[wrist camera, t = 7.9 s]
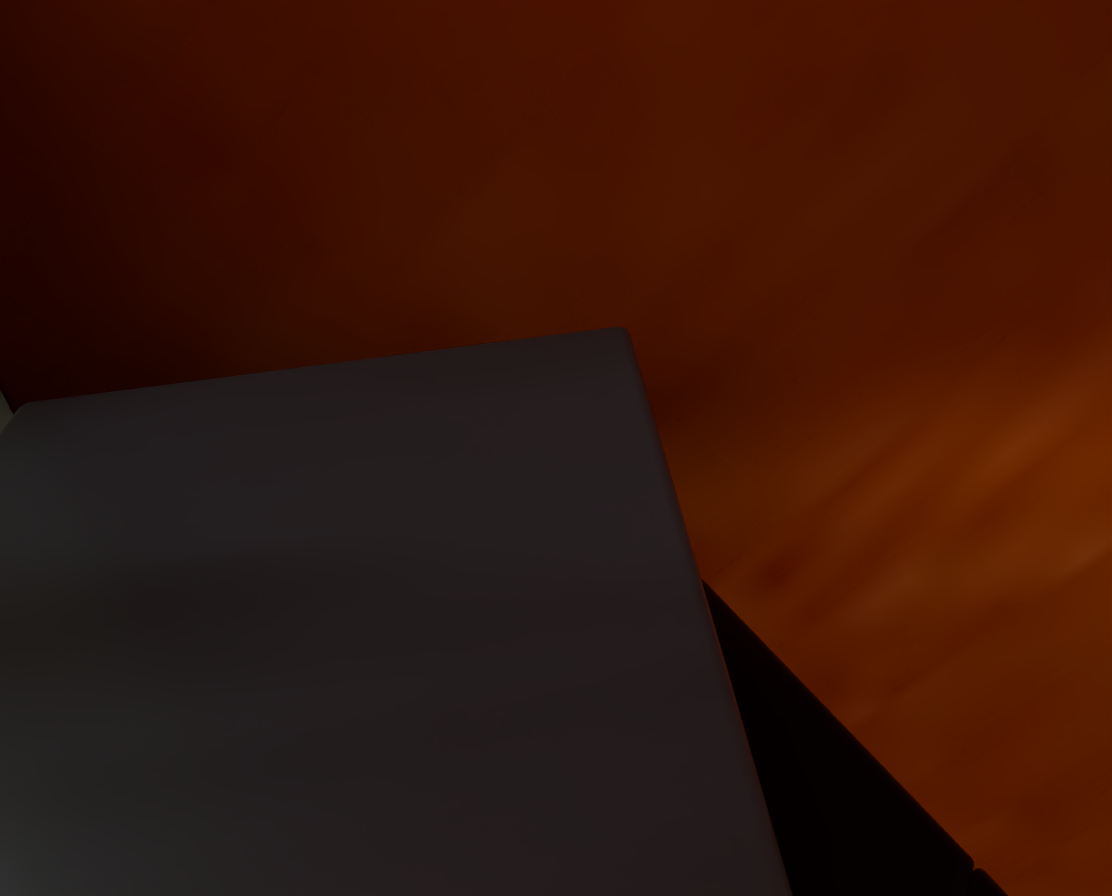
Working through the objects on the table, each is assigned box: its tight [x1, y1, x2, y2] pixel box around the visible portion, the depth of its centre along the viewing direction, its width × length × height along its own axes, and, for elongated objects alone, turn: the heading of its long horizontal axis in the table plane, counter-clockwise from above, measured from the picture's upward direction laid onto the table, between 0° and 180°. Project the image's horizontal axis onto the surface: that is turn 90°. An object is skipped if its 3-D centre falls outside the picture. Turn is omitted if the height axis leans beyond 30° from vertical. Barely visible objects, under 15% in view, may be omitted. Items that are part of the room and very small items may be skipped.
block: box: [0, 327, 793, 896], centre depth 7 cm, size 5×5×5 cm
